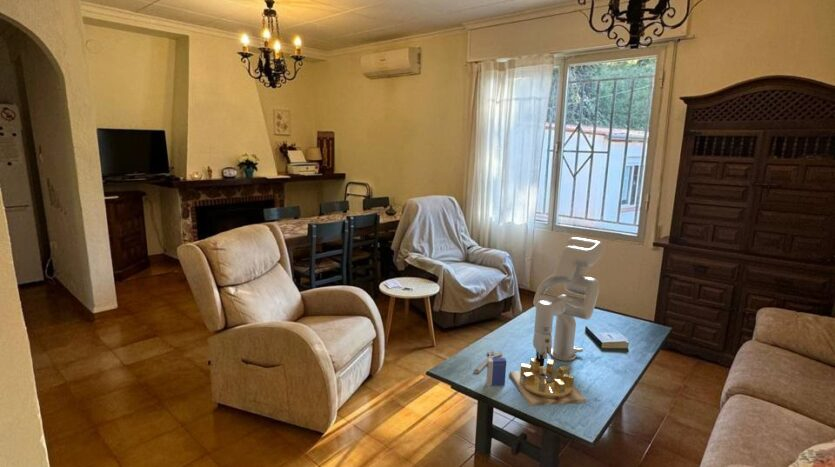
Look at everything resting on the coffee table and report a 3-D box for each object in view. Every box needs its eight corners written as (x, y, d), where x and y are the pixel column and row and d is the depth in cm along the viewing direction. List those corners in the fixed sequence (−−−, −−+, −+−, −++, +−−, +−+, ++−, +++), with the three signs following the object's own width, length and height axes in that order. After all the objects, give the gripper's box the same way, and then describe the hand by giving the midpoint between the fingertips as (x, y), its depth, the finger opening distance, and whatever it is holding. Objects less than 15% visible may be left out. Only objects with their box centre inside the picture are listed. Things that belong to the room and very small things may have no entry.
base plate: (559, 371, 204) (559, 368, 204) (585, 402, 181) (585, 398, 181) (509, 374, 201) (509, 371, 201) (529, 405, 178) (530, 402, 177)
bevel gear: (516, 369, 202) (517, 356, 201) (564, 372, 201) (566, 359, 199) (524, 397, 181) (525, 383, 179) (579, 400, 179) (580, 386, 178)
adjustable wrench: (477, 375, 200) (478, 372, 200) (465, 370, 204) (466, 367, 204) (503, 355, 219) (503, 351, 219) (492, 351, 223) (492, 347, 223)
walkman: (502, 381, 195) (504, 357, 192) (504, 385, 192) (506, 360, 189) (485, 382, 194) (487, 357, 191) (487, 385, 191) (488, 360, 189)
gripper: (558, 335, 189) (554, 373, 193) (544, 320, 203) (540, 356, 207) (542, 335, 188) (538, 374, 192) (528, 321, 202) (525, 357, 206)
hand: (539, 365), depth 200 cm, fingers closed
